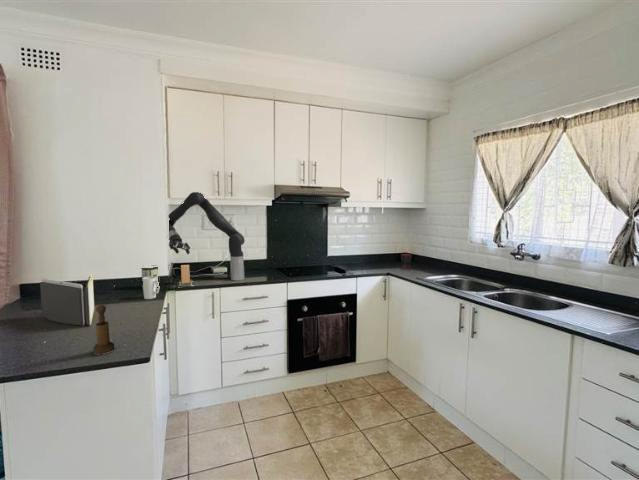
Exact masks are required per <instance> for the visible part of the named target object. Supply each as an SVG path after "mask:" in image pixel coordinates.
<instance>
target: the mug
mask: <svg viewBox="0 0 639 480" xmlns="http://www.w3.org/2000/svg"><path fill="white" fill-rule="evenodd" d="M159 283H160V281H159V282H158V280H155V277H144V278H143V285H142V291H143V299H144V300H151V299H152V300H153V299H155V298H157V294H159V292H160V288H161V287H160V286H161V285H160V286H159ZM156 284H157V286H158V288H157V289H156Z"/></svg>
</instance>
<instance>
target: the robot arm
mask: <svg viewBox="0 0 639 480" xmlns="http://www.w3.org/2000/svg"><path fill="white" fill-rule="evenodd" d="M199 192H200V191H194V192H191V193H189V195H188V196H187V197H185V199H184V200H183V202H184V203H183V202H182V203H183V204H182V203H181V204H180V205H178V206H177V207H176V208H175V209H173V210H172V211H171V212H170V213H169V214H168V219H170V220H169V239H168V240H169V242H168V243H169V245H168V246H169V249H170V250H173V251H174V253H175V254H179V252H180V251H179V249H181V250H182V251H185V252H186V255H189V254H190V253H191V252H190V251H191V250H190V249H191V246H190V245H189V244H188V242H185V243H184V242H183V238H181V235H180V234H179V232H177V230H176V228H175V227H174V226H175V224H176V223H177V221H178V220H180V219H181V218H182V217H183V216H184V215H185V214H186V212H187V211H188V210H189V209H190V208H192V207H194V206H199V207H200V208H201V210H203V211H204V213H205V214H206V217H207V219H208V220H209V222H210V223H211V224H212V225H213V226H214V227H215V228H217V229H218V230H220V231H221V232H223V233H224V234H226V235H227V237H229V238H228V252H229V254H230V255H229V256H230V257H229V259H230V279H231V281H242V280H243V281H244V280H245V266H244V263H245V262H244V251H242V250H243V249H242V246H243V245H244V243H245V236H243V234H242V233H241V232H239V231H238V230H237V229H236V228H235V227H234V226H233V225H232V224H230V222H229V221H228V220H227V219H226V218H225V217H224V215H223V214H222V213H220V211H219V210H218V209H216V208H215V206H214V205H213V204H212V203H211V202H210V201H209V200H208V198H207V199H205V198H204V196H205V195H204V194H203V193H202V192H200V193H199ZM201 193H202V194H201ZM203 195H204V196H203Z"/></svg>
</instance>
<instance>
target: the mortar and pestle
mask: <svg viewBox="0 0 639 480" xmlns="http://www.w3.org/2000/svg"><path fill="white" fill-rule="evenodd" d="M106 310H107V307H106V306H105V305H103V304H101V305H98V306H96V312H97V314H98V318H97V321H98V323H96V324H95V326H96V327H95V328H96V341H97V343H96V344H95V345H94V347H93V349H92V350H93V354H94V353H96V354H103V353H107V352H110V351H112V350H114V351H115V344H114V342H112V341H110V329H109V322H108V321H106V316H105V313H106Z"/></svg>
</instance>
